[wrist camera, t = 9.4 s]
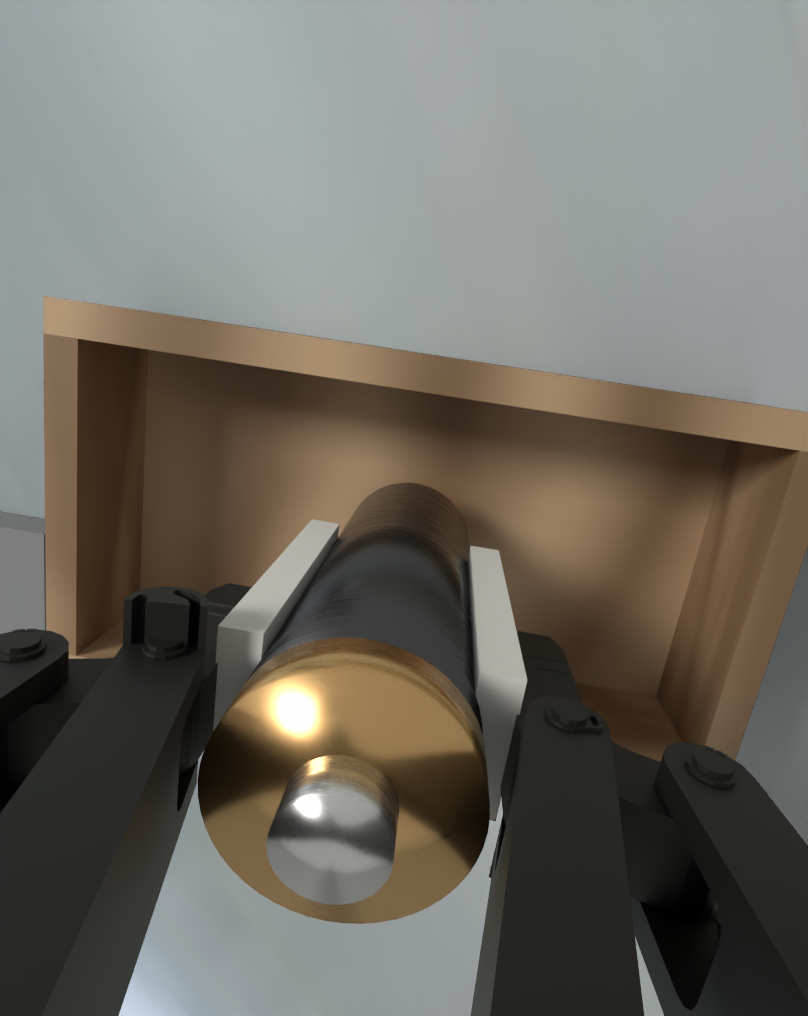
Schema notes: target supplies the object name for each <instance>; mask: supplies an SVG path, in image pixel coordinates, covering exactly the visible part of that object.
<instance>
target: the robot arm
mask: <svg viewBox="0 0 808 1016" xmlns="http://www.w3.org/2000/svg"><path fill="white" fill-rule="evenodd" d="M339 525H340V524H337V523H331V522H325V521H319V520H313V519H312V520H311V521H310V522H309V523H308V524H307V525H306V527H305V528H304V529H303V530H302V531H301V532H300V533H299V535H298V536H297V537H296V538H295V539H294V540H293V541H292V543H291V544H290V545H289V546H288V547H287V548H286V549H285V550H284V552H283V553H282V554H281V555H280V556H279V557H278V558H277V560H276V561H275V562H274V563H273V564H272V565H271V566H270V567H269V569H268V570H267V571H266V572H265V573H264V574H263V575H262V577H261V578H260V579H259V580H258V581H257V582H256V583H255V585H254V586H253V587H249V586H243V585H237V584H231V583H228V584H225V585H223V586H220V587H217V588H215V589H212V590H210V591H209V592H208V593H207V594H206V595H205V596H204V595H203V594H201V593H199V592H197V591H194V590H192V589H186V588H181V587H155V588H148V589H144V590H141V591H138V592H135V593H132V594H131V595H129V596H128V597H127V598H125V599H124V626H123V646H122V647H121V648H120V650H119V651H118V652H117V654H116V655H115V657H114V658H84V659H69V642H68V640H67V639H66V638H65V637H64V636H63V635H61V634H58V633H55V632H52V631H46V630H38V629H27V630H25V629H18V630H13V631H12V632H7V633H3V634H0V1016H118V1015H119V1012H120V1009H121V1006H122V1003H123V1000H124V997H125V994H126V991H127V988H128V985H129V982H130V979H131V977H132V974H133V971H134V968H135V965H136V962H137V959H138V956H139V953H140V950H141V947H142V944H143V941H144V938H145V935H146V932H147V929H148V926H149V923H150V920H151V917H152V914H153V911H154V908H155V905H156V902H157V899H158V896H159V893H160V890H161V887H162V884H163V881H164V878H165V875H166V872H167V869H168V866H169V863H170V860H171V857H172V855H173V852H174V849H175V846H176V843H177V840H178V837H179V834H180V831H181V828H182V825H183V822H184V819H185V816H186V813H187V810H188V807H189V804H190V801H191V798H192V795H193V792H194V789H195V786H196V782H197V767H198V759H199V757H200V755H201V754H202V752H203V751H204V749H205V747H206V745H207V743H208V741H209V739H210V737H211V735H212V733H213V731H214V730H215V728H216V727H217V725H218V723H219V722H220V720H221V719H222V717H223V716H224V714H225V713H226V711H227V709H228V708H229V706H230V705H231V703H232V702H233V700H234V698H235V697H236V695H237V694H238V692H239V691H240V689H241V688H242V687H243V685H244V684H245V682H246V681H247V680H248V679H249V677H250V676H251V674H252V673H253V671H254V669H255V668H256V666H257V665H258V664H259V662H260V661H261V659H262V658H263V656H264V654H265V653H266V651H267V650H268V648H269V647H270V645H271V643H272V642H273V640H274V639H275V637H276V636H277V634H278V632H279V631H280V629H281V628H282V626H283V624H284V623H285V621H286V620H287V618H288V617H289V615H290V613H291V612H292V610H293V609H294V607H295V606H296V604H297V602H298V601H299V599H300V598H301V596H302V594H303V593H304V591H305V590H306V588H307V587H308V585H309V583H310V582H311V580H312V579H313V577H314V576H315V574H316V572H317V571H318V569H319V568H320V566H321V564H322V563H323V561H324V560H325V558H326V557H327V555H328V553H329V552H330V550H331V549H332V547H333V546H334V544H335V542H336V541H337V539H338V533H339ZM467 564H468V581H469V597H470V614H471V631H472V647H473V664H474V680H475V695H476V698H477V701H478V705H479V708H480V713H481V719H482V728H483V739H484V745H485V750H486V762H487V774H488V786H489V798H490V819H489V820H493V821H496V817H497V813H498V808H499V804H500V799H501V797H502V807H503V817H502V821H501V826H500V830H499V835H498V839H497V843H496V848H495V852H494V857H493V861H492V865H491V870H490V874H489V877H490V878H491V885H490V892H489V898H488V905H487V912H486V918H485V925H484V931H483V938H482V945H481V951H480V958H479V965H478V971H477V978H476V984H475V991H474V998H473V1004H472V1011H471V1016H644V1010H643V1002H642V994H641V985H640V977H639V968H638V960H637V951H636V943H635V937H636V940H637V942H638V945H639V948H640V950H641V953H642V956H643V959H644V961H645V964H646V967H647V969H648V972H649V975H650V978H651V980H652V983H653V986H654V988H655V991H656V994H657V997H658V999H659V1002H660V1005H661V1007H662V1010H663V1013H664V1016H808V845H807V844H806V843H805V842H804V840H803V839H802V838H801V837H800V835H799V834H798V833H797V831H796V830H795V829H794V828H793V826H792V825H791V824H790V823H789V821H788V820H787V819H786V817H785V816H784V815H783V814H782V812H781V811H780V810H779V809H778V807H777V806H776V805H775V803H774V802H773V801H772V800H771V798H770V797H769V796H768V794H767V793H766V792H765V791H764V789H763V788H762V787H761V786H760V784H759V783H758V782H757V780H756V779H755V778H754V777H753V776H752V775H751V774H750V773H749V772H748V771H747V770H746V769H745V768H744V767H743V766H742V765H741V764H739V763H738V762H736V761H734V760H733V759H731V758H730V757H728V756H727V755H726V754H725V753H723V752H721V751H719V750H717V751H716V750H714V748H711V747H708V746H705V745H698V744H694V743H689V742H676V743H673V744H671V745H668V746H666V748H665V751H664V753H663V755H662V759H661V762H659V761H657V760H654V759H651V758H649V757H646V756H643V755H641V754H638V753H635V752H633V751H630V750H628V749H626V748H623V747H621V746H619V745H618V744H616V743H614V742H612V741H611V733H610V729H609V727H608V725H607V723H606V721H605V720H604V719H603V718H602V717H601V716H600V715H599V714H598V713H597V712H595V711H594V710H592V709H590V708H589V707H587V706H585V705H584V704H583V702H582V700H581V697H580V694H579V691H578V689H577V686H576V683H575V680H574V678H573V676H572V672H571V670H570V667H569V665H568V661H567V659H566V656H565V653H564V650H563V649H562V648H561V647H560V646H559V645H558V644H557V643H556V642H555V641H554V640H553V639H552V638H551V637H550V636H544V635H538V634H532V633H526V632H521V631H516V626H515V622H514V617H513V613H512V608H511V604H510V599H509V595H508V590H507V585H506V581H505V576H504V572H503V567H502V563H501V558H500V554H499V550H494V549H488V548H482V547H476V546H470V551H469V556H468V562H467ZM634 934H635V935H634Z"/></svg>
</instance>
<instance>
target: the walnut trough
mask: <svg viewBox="0 0 808 1016" xmlns="http://www.w3.org/2000/svg"><path fill="white" fill-rule="evenodd" d="M43 325H44V438H45V550H46V631H52V632H55V633H58V634H61V635H63V636H64V637H65V638H66V639H67V640H68V642H69V659H84V658H114V657H115V655H116V654H117V652H118V651H119V650H120V648H121V647H122V646H123V626H124V599H125V598H127V597H128V596H129V595H131V594H132V593H135V592H138V591H141V590H144V589H148V588H155V587H181V588H186V589H192V590H194V591H197V592H199V593H201V594H203V595H204V596H205V595H206V594H207V593H208V592H209V591H210V590H212V589H215V588H217V587H220V586H223V585H225V584H228V583H231V584H237V585H243V586H249V587H253V586H254V585H255V583H256V582H257V581H258V580H259V579H260V578H261V577H262V575H263V574H264V573H265V572H266V571H267V570H268V569H269V567H270V566H271V565H272V564H273V563H274V562H275V561H276V560H277V558H278V557H279V556H280V555H281V554H282V553H283V552H284V550H285V549H286V548H287V547H288V546H289V545H290V544H291V543H292V541H293V540H294V539H295V538H296V537H297V536H298V535H299V533H300V532H301V531H302V530H303V529H304V528H305V527H306V525H307V524H308V523H309V522H310V521H311V520H312V519H313V520H319V521H325V522H331V523H337V524H340V525H339V533H338V537H339V535H340V534H341V532H342V531H343V529H344V528H345V526H346V524H347V523H348V521H349V520H350V518H351V517H352V515H353V513H354V512H355V510H356V509H357V507H358V506H359V504H360V503H361V502H362V501H363V500H364V499H365V498H366V497H367V496H369V495H370V494H371V493H373V492H374V491H376V490H378V489H380V488H382V487H384V486H388V485H391V484H396V483H417V484H421V485H425V486H428V487H431V488H433V489H435V490H437V491H439V492H440V493H442V494H443V495H444V496H446V497H447V498H448V499H449V500H450V501H451V502H452V503H453V504H454V505H455V506H456V508H457V509H458V511H459V512H460V514H461V516H462V518H463V520H464V523H465V526H466V530H467V536H468V548H469V551H470V546H476V547H482V548H488V549H494V550H499V554H500V558H501V563H502V567H503V572H504V576H505V581H506V585H507V590H508V595H509V599H510V604H511V608H512V613H513V617H514V622H515V626H516V631H521V632H526V633H532V634H538V635H544V636H550V637H551V638H552V639H553V640H554V641H555V642H556V643H557V644H558V645H559V646H560V647H561V648H562V649H563V650H564V653H565V656H566V659H567V661H568V665H569V667H570V670H571V672H572V676H573V678H574V680H575V683H576V686H577V689H578V691H579V694H580V697H581V700H582V702H583V704H584V705H585V706H587V707H589V708H590V709H592V710H594V711H595V712H597V713H598V714H599V715H600V716H601V717H602V718H603V719H604V720H605V721H606V723H607V725H608V727H609V729H610V733H611V741H612V742H614V743H616V744H618V745H619V746H621V747H623V748H626V749H628V750H630V751H633V752H635V753H638V754H641V755H643V756H646V757H649V758H651V759H654V760H657V761H659V762H661V759H662V755H663V753H664V751H665V748H666V746H668V745H671V744H673V743H676V742H689V743H694V744H698V745H705V746H708V747H711V748H714V750H716V751H717V750H719V751H721V752H723V753H725V754H726V755H727V756H728V757H730V758H731V759H733V760H734V761H735V759H736V756H737V753H738V750H739V747H740V744H741V741H742V738H743V736H744V733H745V730H746V727H747V724H748V721H749V718H750V715H751V712H752V709H753V706H754V703H755V700H756V697H757V694H758V691H759V688H760V685H761V682H762V680H763V677H764V674H765V671H766V668H767V665H768V662H769V659H770V656H771V653H772V650H773V647H774V644H775V641H776V638H777V635H778V632H779V629H780V626H781V623H782V621H783V618H784V615H785V612H786V609H787V606H788V603H789V600H790V597H791V594H792V591H793V588H794V585H795V582H796V579H797V576H798V573H799V570H800V567H801V565H802V562H803V559H804V556H805V553H806V550H807V547H808V412H802V411H796V410H790V409H784V408H777V407H771V406H765V405H758V404H752V403H745V402H739V401H732V400H726V399H719V398H712V397H706V396H699V395H693V394H686V393H680V392H673V391H666V390H660V389H653V388H647V387H640V386H634V385H627V384H621V383H614V382H607V381H601V380H594V379H588V378H581V377H575V376H568V375H561V374H555V373H548V372H542V371H535V370H529V369H522V368H515V367H509V366H502V365H496V364H489V363H483V362H476V361H469V360H463V359H456V358H450V357H443V356H437V355H430V354H424V353H417V352H410V351H404V350H397V349H391V348H384V347H378V346H371V345H364V344H358V343H351V342H345V341H338V340H332V339H325V338H318V337H312V336H305V335H299V334H292V333H286V332H279V331H273V330H266V329H259V328H253V327H246V326H240V325H233V324H227V323H220V322H213V321H207V320H200V319H194V318H187V317H181V316H174V315H167V314H161V313H154V312H148V311H141V310H135V309H128V308H121V307H114V306H107V305H100V304H93V303H87V302H80V301H73V300H66V299H59V298H52V297H45V296H43Z"/></svg>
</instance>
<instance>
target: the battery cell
mask: <svg viewBox="0 0 808 1016" xmlns="http://www.w3.org/2000/svg"><path fill="white" fill-rule="evenodd" d="M468 556H469V548H468V536H467V530H466V526H465V523H464V520H463V518H462V516H461V514H460V512H459V511H458V509H457V508H456V506H455V505H454V504H453V503H452V502H451V501H450V500H449V499H448V498H447V497H446V496H444V495H443V494H442V493H440V492H439V491H437V490H435V489H433V488H431V487H428V486H425V485H421V484H417V483H396V484H391V485H388V486H384V487H382V488H380V489H378V490H376V491H374V492H373V493H371V494H370V495H369V496H367V497H366V498H365V499H364V500H363V501H362V502H361V503H360V504H359V506H358V507H357V509H356V510H355V512H354V513H353V515H352V517H351V518H350V520H349V521H348V523H347V524H346V526H345V528H344V529H343V531H342V532H341V534H340V535H339V537H338V539H337V541H336V542H335V544H334V546H333V547H332V549H331V550H330V552H329V553H328V555H327V557H326V558H325V560H324V561H323V563H322V564H321V566H320V568H319V569H318V571H317V572H316V574H315V576H314V577H313V579H312V580H311V582H310V583H309V585H308V587H307V588H306V590H305V591H304V593H303V594H302V596H301V598H300V599H299V601H298V602H297V604H296V606H295V607H294V609H293V610H292V612H291V613H290V615H289V617H288V618H287V620H286V621H285V623H284V624H283V626H282V628H281V629H280V631H279V632H278V634H277V636H276V637H275V639H274V640H273V642H272V643H271V645H270V647H269V648H268V650H267V651H266V653H265V654H264V656H263V658H262V659H261V661H260V662H259V664H258V665H257V666H256V668H255V669H254V671H253V673H252V674H251V676H250V677H249V679H248V680H247V681H246V682H245V684H244V685H243V687H242V688H241V689H240V691H239V692H238V694H237V695H236V697H235V698H234V700H233V702H232V703H231V705H230V706H229V708H228V709H227V711H226V713H225V714H224V716H223V717H222V719H221V720H220V722H219V723H218V725H217V727H216V728H215V730H214V731H213V733H212V735H211V737H210V739H209V741H208V743H207V745H206V747H205V750H204V753H203V756H202V759H201V763H200V768H199V775H198V798H199V804H200V811H201V814H202V818H203V821H204V824H205V827H206V829H207V832H208V834H209V836H210V838H211V840H212V842H213V844H214V846H215V847H216V849H217V850H218V852H219V853H220V855H221V857H222V858H223V859H224V860H225V862H226V863H227V864H228V865H229V866H230V868H231V869H232V870H233V871H234V872H235V873H236V874H237V875H238V876H239V877H240V878H241V879H242V880H243V881H244V882H245V883H247V884H248V885H249V886H251V887H252V888H253V889H254V890H256V891H257V892H258V893H260V894H261V895H263V896H265V897H266V898H268V899H270V900H271V901H273V902H274V903H277V904H279V905H281V906H283V907H285V908H287V909H289V910H291V911H294V912H297V913H300V914H303V915H305V916H308V917H313V918H317V919H321V920H325V921H332V922H339V923H356V924H363V923H377V922H383V921H389V920H394V919H398V918H401V917H405V916H408V915H411V914H414V913H416V912H418V911H421V910H423V909H425V908H427V907H429V906H431V905H432V904H434V903H436V902H437V901H439V900H441V899H442V898H444V897H445V896H446V895H447V894H449V893H450V892H451V891H452V890H454V889H455V888H456V887H457V886H458V885H459V884H460V883H461V882H462V880H463V879H464V878H465V877H466V876H467V875H468V873H469V872H470V870H471V869H472V868H473V866H474V865H475V863H476V861H477V859H478V857H479V855H480V853H481V851H482V849H483V846H484V843H485V840H486V836H487V833H488V827H489V819H490V798H489V786H488V774H487V762H486V750H485V745H484V739H483V728H482V719H481V713H480V708H479V705H478V701H477V698H476V695H475V680H474V664H473V647H472V631H471V614H470V597H469V581H468V564H467V562H468Z"/></svg>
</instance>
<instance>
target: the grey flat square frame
mask: <svg viewBox="0 0 808 1016" xmlns="http://www.w3.org/2000/svg"><path fill="white" fill-rule="evenodd" d="M18 629H25V630H27V629H38V630H46V550H45V519H40V518H35V517H29V516H23V515H17V514H11V513H5V512H0V634H3V633H7V632H12V631H13V630H18Z"/></svg>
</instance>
